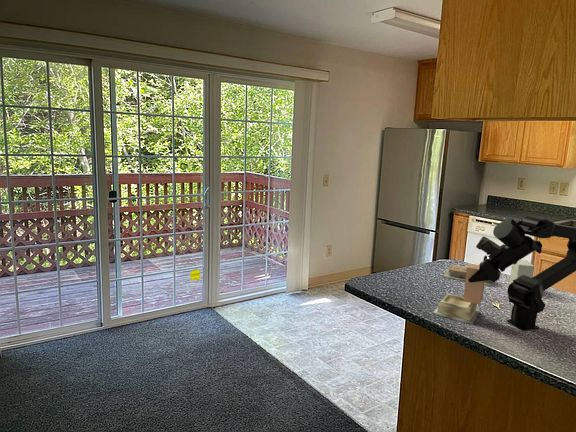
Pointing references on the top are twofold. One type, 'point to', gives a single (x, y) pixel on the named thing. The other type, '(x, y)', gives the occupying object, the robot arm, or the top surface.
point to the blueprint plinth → (457, 309)
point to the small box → (521, 270)
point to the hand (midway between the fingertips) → (470, 278)
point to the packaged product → (460, 274)
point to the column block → (473, 286)
